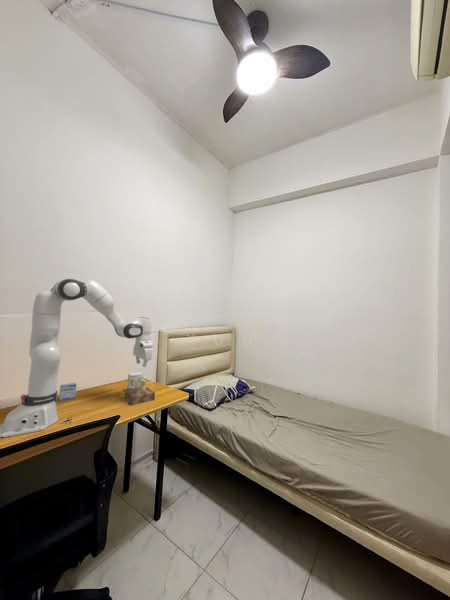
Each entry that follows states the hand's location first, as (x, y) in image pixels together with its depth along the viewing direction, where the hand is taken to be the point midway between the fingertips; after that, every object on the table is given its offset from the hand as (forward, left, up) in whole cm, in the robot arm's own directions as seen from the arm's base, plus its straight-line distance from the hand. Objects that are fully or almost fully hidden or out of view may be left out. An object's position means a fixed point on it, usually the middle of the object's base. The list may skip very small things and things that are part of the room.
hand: (141, 365), depth 148 cm
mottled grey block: (0, 0, -17) cm, 17 cm away
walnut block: (0, 0, -22) cm, 22 cm away
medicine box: (-34, +26, -22) cm, 48 cm away
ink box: (+3, +16, -22) cm, 27 cm away
